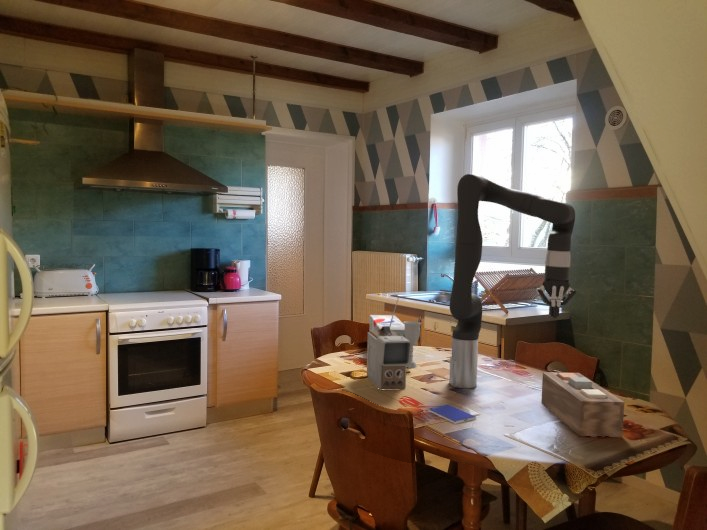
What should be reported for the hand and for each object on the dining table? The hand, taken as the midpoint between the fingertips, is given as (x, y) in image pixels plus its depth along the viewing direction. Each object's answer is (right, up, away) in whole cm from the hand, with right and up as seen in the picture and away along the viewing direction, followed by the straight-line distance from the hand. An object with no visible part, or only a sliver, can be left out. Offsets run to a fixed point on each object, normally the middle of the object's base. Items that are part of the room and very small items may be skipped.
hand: (553, 317), depth 183 cm
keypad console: (+3, -29, -12) cm, 32 cm away
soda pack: (-50, -22, +73) cm, 91 cm away
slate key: (+3, -22, -13) cm, 26 cm away
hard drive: (-35, -29, -12) cm, 47 cm away
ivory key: (+3, -24, -22) cm, 33 cm away
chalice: (-42, -24, +45) cm, 66 cm away
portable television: (-52, -26, +21) cm, 62 cm away
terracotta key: (+3, -23, -4) cm, 23 cm away
